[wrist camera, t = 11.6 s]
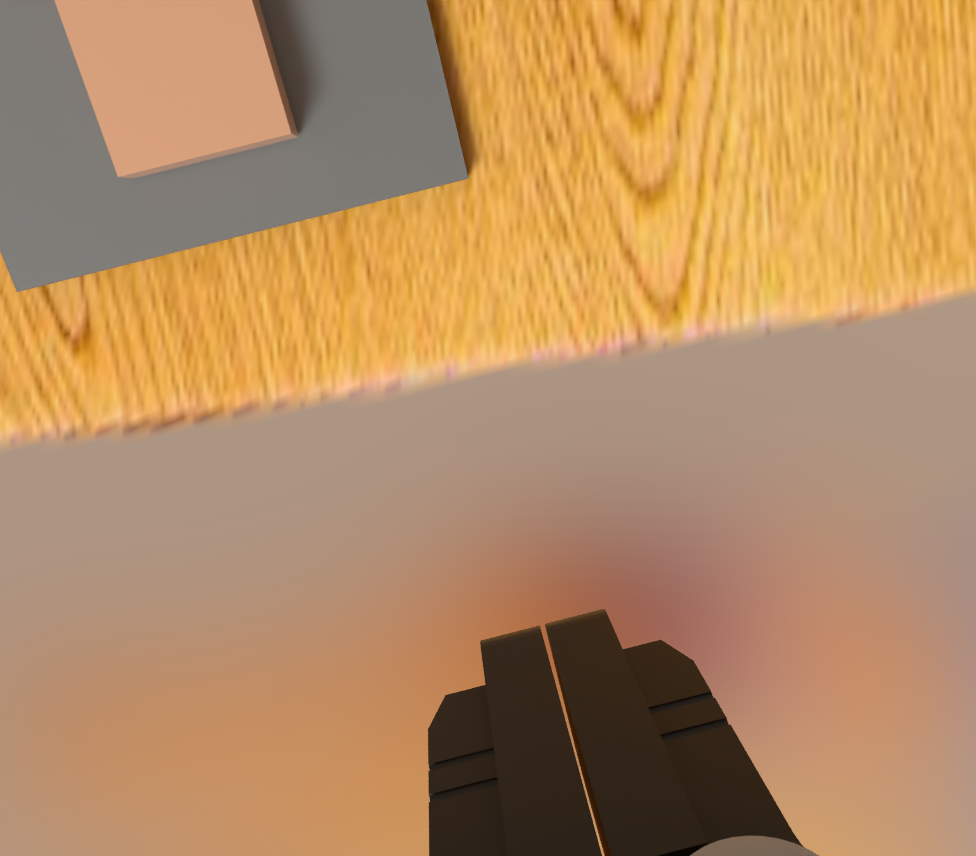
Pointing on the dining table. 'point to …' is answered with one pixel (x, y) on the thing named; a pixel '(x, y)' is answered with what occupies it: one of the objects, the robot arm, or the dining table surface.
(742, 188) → the dining table surface
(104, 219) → the mat
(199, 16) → the tile
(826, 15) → the dining table surface
